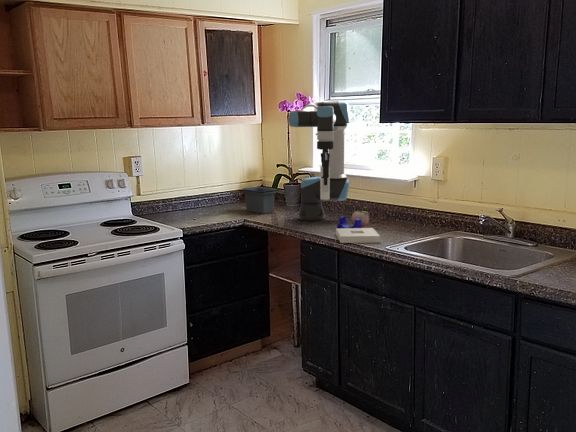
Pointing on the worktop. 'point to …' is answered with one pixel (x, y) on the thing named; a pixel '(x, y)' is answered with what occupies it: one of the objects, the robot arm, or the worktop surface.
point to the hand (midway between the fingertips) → (325, 191)
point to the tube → (322, 194)
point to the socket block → (357, 235)
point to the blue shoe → (344, 224)
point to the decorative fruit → (360, 217)
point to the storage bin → (259, 199)
